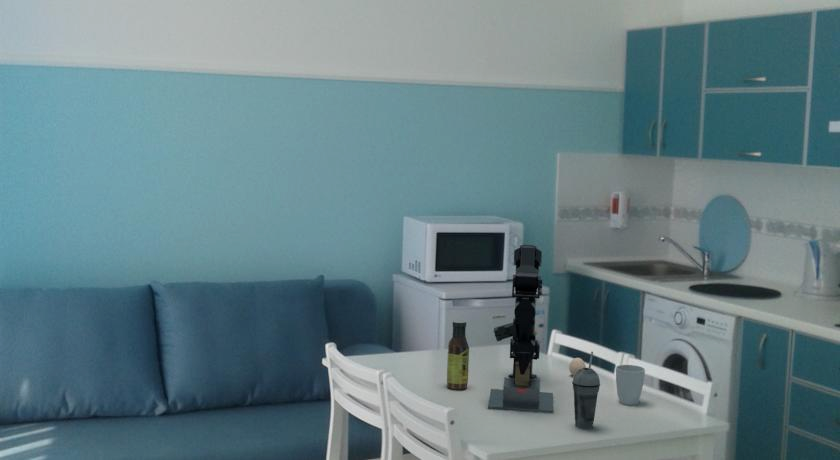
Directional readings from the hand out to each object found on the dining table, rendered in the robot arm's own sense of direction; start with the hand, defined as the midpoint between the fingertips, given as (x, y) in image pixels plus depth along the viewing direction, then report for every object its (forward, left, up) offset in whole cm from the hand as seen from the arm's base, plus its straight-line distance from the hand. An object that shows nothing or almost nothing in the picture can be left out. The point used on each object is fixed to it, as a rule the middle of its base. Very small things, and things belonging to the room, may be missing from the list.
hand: (522, 370), depth 283 cm
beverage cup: (+8, +24, -9) cm, 27 cm away
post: (0, 0, -9) cm, 9 cm away
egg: (-37, -2, -10) cm, 38 cm away
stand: (0, 0, -9) cm, 9 cm away
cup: (-21, +23, -9) cm, 33 cm away
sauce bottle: (0, -22, -9) cm, 24 cm away
